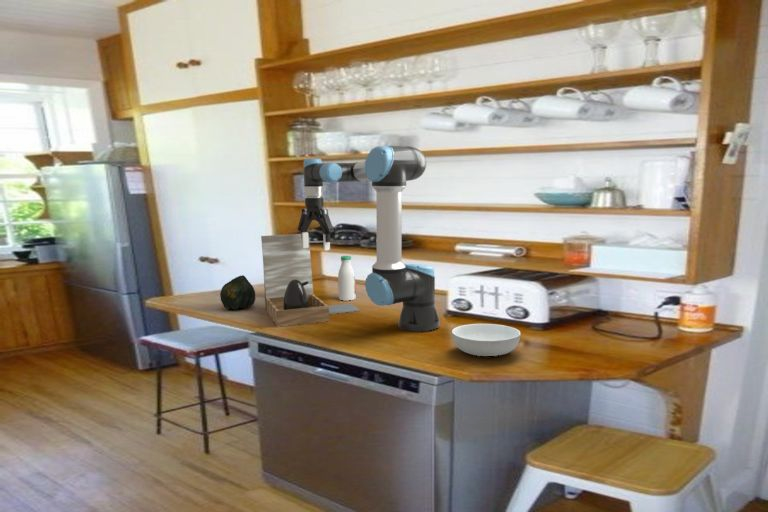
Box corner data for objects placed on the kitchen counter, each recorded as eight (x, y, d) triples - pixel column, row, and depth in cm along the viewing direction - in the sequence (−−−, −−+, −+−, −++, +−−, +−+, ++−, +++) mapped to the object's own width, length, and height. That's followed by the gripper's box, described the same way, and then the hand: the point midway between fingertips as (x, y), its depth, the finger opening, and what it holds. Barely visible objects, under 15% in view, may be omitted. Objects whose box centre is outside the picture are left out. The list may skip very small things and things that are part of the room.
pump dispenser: (307, 319, 219) (306, 281, 217) (281, 320, 220) (279, 282, 218) (311, 313, 230) (310, 277, 228) (286, 314, 230) (284, 277, 228)
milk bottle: (353, 301, 251) (352, 257, 248) (336, 301, 253) (335, 257, 250) (357, 297, 259) (356, 255, 256) (341, 297, 260) (340, 254, 257)
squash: (207, 298, 238) (227, 272, 234) (227, 292, 252) (246, 268, 248) (230, 321, 236) (250, 296, 232) (249, 314, 250) (268, 290, 246)
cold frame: (329, 321, 216) (326, 239, 212) (277, 327, 209) (273, 242, 205) (310, 305, 246) (307, 233, 241) (264, 309, 239) (260, 235, 234)
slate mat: (360, 311, 232) (360, 309, 232) (327, 314, 227) (327, 313, 227) (350, 304, 245) (350, 303, 245) (318, 307, 240) (318, 306, 240)
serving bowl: (532, 351, 174) (533, 329, 173) (497, 368, 158) (497, 345, 157) (475, 339, 187) (475, 319, 186) (438, 354, 172) (437, 332, 171)
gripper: (341, 197, 222) (343, 250, 225) (302, 196, 239) (304, 246, 242) (327, 197, 216) (329, 252, 219) (287, 197, 233) (290, 247, 236)
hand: (316, 249), depth 230 cm, fingers open, 13 cm apart
